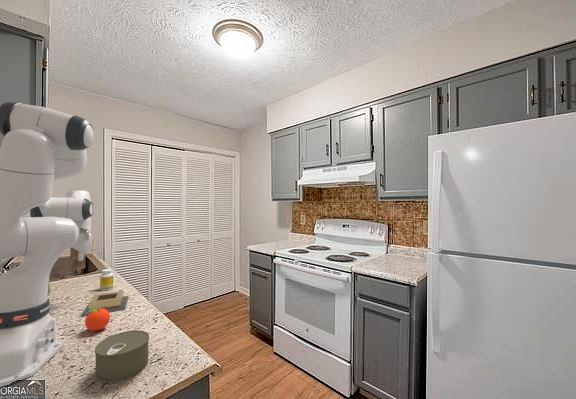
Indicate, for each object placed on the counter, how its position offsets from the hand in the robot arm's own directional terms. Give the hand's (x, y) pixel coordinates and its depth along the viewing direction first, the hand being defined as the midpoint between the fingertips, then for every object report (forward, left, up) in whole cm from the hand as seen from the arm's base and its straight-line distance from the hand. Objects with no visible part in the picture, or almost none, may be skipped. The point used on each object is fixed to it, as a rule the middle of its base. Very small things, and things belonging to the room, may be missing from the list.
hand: (77, 259), depth 110 cm
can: (-60, -23, -19) cm, 66 cm away
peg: (0, 0, -4) cm, 4 cm away
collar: (-10, -12, -19) cm, 24 cm away
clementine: (-32, -12, -19) cm, 39 cm away
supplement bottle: (+16, -8, -19) cm, 26 cm away
